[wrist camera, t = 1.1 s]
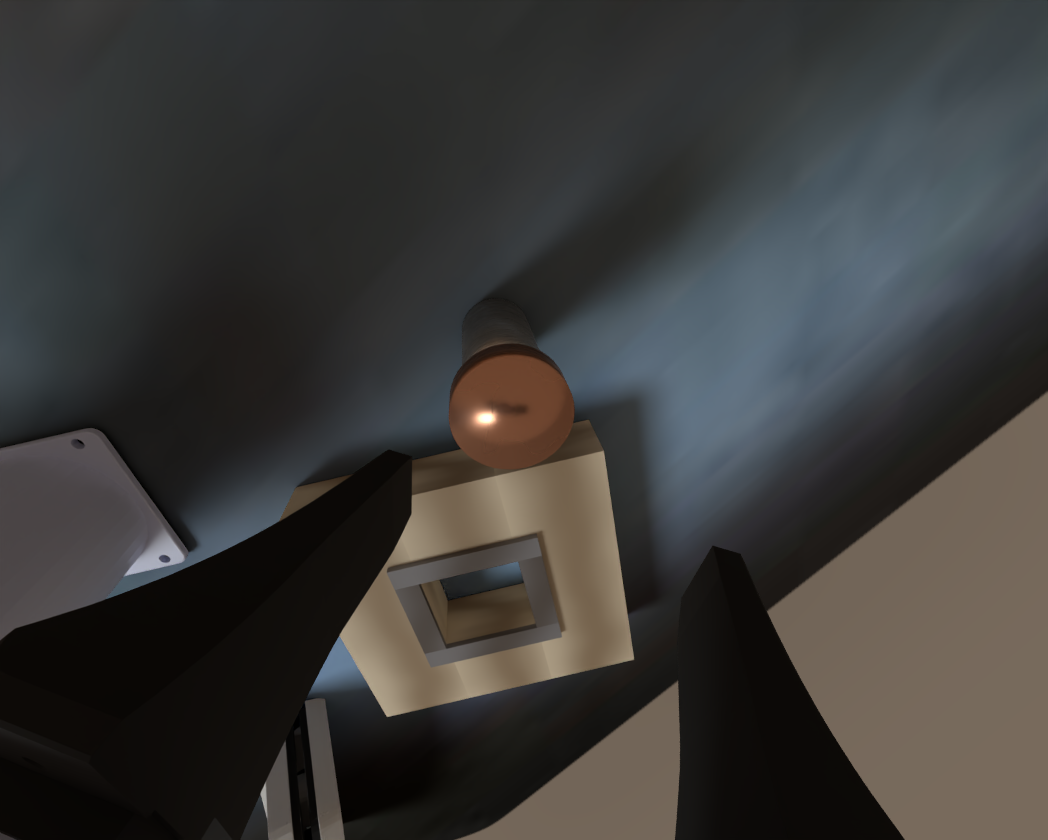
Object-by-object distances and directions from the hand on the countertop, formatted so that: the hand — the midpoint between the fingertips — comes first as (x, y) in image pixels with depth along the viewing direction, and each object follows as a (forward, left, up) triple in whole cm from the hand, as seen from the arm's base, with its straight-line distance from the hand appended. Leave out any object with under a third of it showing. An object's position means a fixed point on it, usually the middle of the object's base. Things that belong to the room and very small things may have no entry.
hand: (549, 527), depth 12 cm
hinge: (-20, -28, -13) cm, 37 cm away
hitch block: (-4, -12, -12) cm, 18 cm away
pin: (0, +1, -12) cm, 12 cm away
